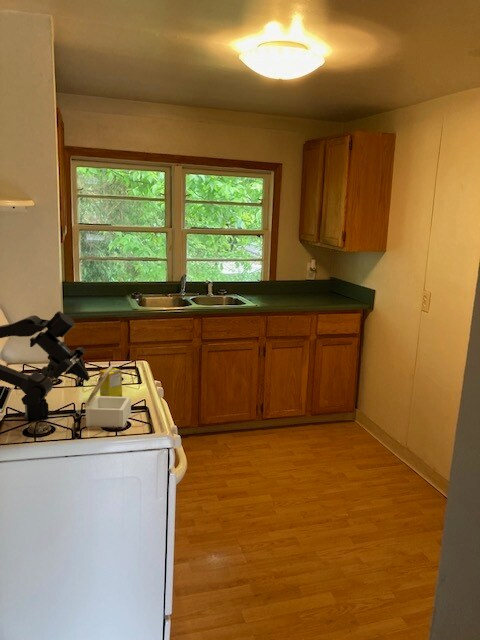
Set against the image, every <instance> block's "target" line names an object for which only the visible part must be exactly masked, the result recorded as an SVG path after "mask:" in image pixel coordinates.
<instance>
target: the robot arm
mask: <svg viewBox="0 0 480 640" xmlns="http://www.w3.org/2000/svg"><path fill="white" fill-rule="evenodd" d="M75 325H76V323H75V321H74V319H73V318H72V317H71V316H68V315H67V314H65V313H62V311H60V310H59V311H57V312H56V313H55V314H54V315H53V317H52V318H51V319H50V320H49V319H43V318H40V317H39V316H37V315H30V316H28V317H25V318H22V319H20V320H18V321H15V322H11V323H8V324H1V325H0V339H4V338H9V337H30V338H29V342H30V343H29V347H30V348H33V347H35V346H36V345H37V346H38V347H40V349H42V350H43V351H44V352H45V353H46V354H47V359H48V360H49V361H48V362H49V363H48V364H47V366H43V367H42V368H41V369H40V372H38V371H34V372H32V373H31V374H27V373H26V374H25V373H23V372H21V371H18V370H16V369H13V368H11V367H9V366H7V365H4V364H1V363H0V381H2V382H4V383H7V384H10V385H13V386H14V387H17V388H19V389H20V390H21V391H22V392H23V394H24V395H23V396H22V398H21V399H20V400H21V402H22V405H24V413H25V414H24V415H23V416H24V419H25V420H26V421H27V422H28V423H33V422H38V421H44V420H49V418H50V417H49V415H50V413H49V409H50V408H49V403H48V402H47V399H46V397H47V396H48V395H49V393H50V392H51V391H52V390H53V382H52V380H54V379H56V380H57V379H58V378H60V377H61V376H62V374H63V375H64V376H65V375H74V376H76V377H77V378H80V379H82V380H84V381H85V382H88V381H90V379H91V377H90V374H89V373H88V369H87V367H86V365H85V362H84V359H83V358H84V357H83V355H84V354H85V353H86V352H87V350H86V349H85V348H84V347H82V346H79V347H77V348H76V349H75V350H74V349H73V350H71V349H70V348H68V347H67V346H66V345H67V342H66V341H61V340H60V338H64V337H65V336H66V335H67V334H68V333H69V332H70V331H71V330H72V329H73V328H74V326H75ZM44 330H45V331H44ZM37 333H38V334H37ZM36 334H37V335H36ZM34 335H36V336H35V337H34ZM31 336H33V337H31ZM51 379H52V380H51Z"/></svg>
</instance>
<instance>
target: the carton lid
mask: <svg viewBox="0 0 480 640" xmlns="http://www.w3.org/2000/svg"><path fill="white" fill-rule="evenodd" d="M112 367H113V366H112V365H109V367H108V368H106V369H107V370H106V372H105V373H104V374H103V375H102V376H101V378H100V377H99V379H98V381H97V382H96V385H95V386H94V388H93V390H92V392H91V393H90V395H89V397H88V398H87V400H86V402H85V404H84V405H83V408H84V409H86V408H87V407H88V405H89V404H90V403H91V402H92V400H93V399H94V398H95V397H96V396H97V394H98V392H100V387H101V386H102V384H103V382H104V381H105V379H106V377H107V375H108V374H109V372H110V370H111V369H112Z"/></svg>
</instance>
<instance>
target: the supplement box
mask: <svg viewBox="0 0 480 640" xmlns="http://www.w3.org/2000/svg"><path fill="white" fill-rule="evenodd" d="M107 369H108V368H105V369H100V370H99V371H98V373H99V379H100V378H101V376H102V375H103V374H104V373H105V372H106V370H107ZM122 373H123V372H122V370H121V369H119V368H116V367H113V366H112V369H111V370H110V372H109V374H108V375H107V377H106V379H105V381H104V382H103V384H102V386H101V387H100V389H99V396H110V397H123V382H122V381H123V377H122V375H123V374H122Z"/></svg>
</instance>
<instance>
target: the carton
mask: <svg viewBox="0 0 480 640" xmlns="http://www.w3.org/2000/svg"><path fill="white" fill-rule="evenodd" d="M131 398H132V397H131V396H122V397H110V396H100V395H96V396H95V397H94V398H93V400H92V401H91V402H90V403H89V405H88V406H87V407H86V408H85V425H86V426H85V427H86V428H87V427H89V428H90V427H91V428H92V427H93V428H118V427H122V429H123V428H125V425H126V424H125V423H127V422H128V420H129V418H130V416H131V414H132V409H131V408H132V400H131ZM113 426H114V427H113Z"/></svg>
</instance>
